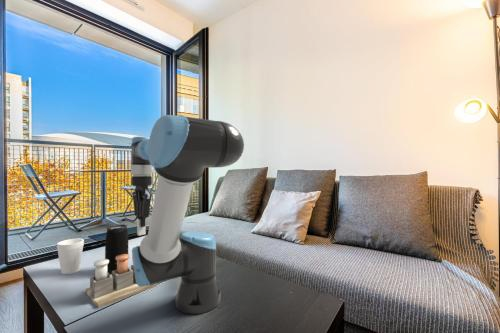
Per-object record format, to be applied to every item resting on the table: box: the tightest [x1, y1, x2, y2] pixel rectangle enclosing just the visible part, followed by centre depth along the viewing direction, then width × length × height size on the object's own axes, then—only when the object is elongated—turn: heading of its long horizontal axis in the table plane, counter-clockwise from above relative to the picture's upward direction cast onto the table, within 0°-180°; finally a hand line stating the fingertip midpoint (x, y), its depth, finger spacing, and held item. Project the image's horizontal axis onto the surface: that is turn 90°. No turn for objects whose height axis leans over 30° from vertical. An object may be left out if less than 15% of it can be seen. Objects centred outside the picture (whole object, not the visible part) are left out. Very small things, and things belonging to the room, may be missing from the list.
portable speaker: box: [104, 224, 129, 275], centre depth 105 cm, size 9×9×20 cm
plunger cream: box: [93, 258, 109, 282], centre depth 84 cm, size 5×5×7 cm
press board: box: [84, 264, 158, 309], centre depth 89 cm, size 15×20×7 cm
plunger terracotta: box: [116, 253, 130, 275], centre depth 89 cm, size 5×5×7 cm
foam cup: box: [56, 237, 85, 275], centre depth 104 cm, size 10×9×13 cm
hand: (141, 234), depth 94 cm, fingers closed
